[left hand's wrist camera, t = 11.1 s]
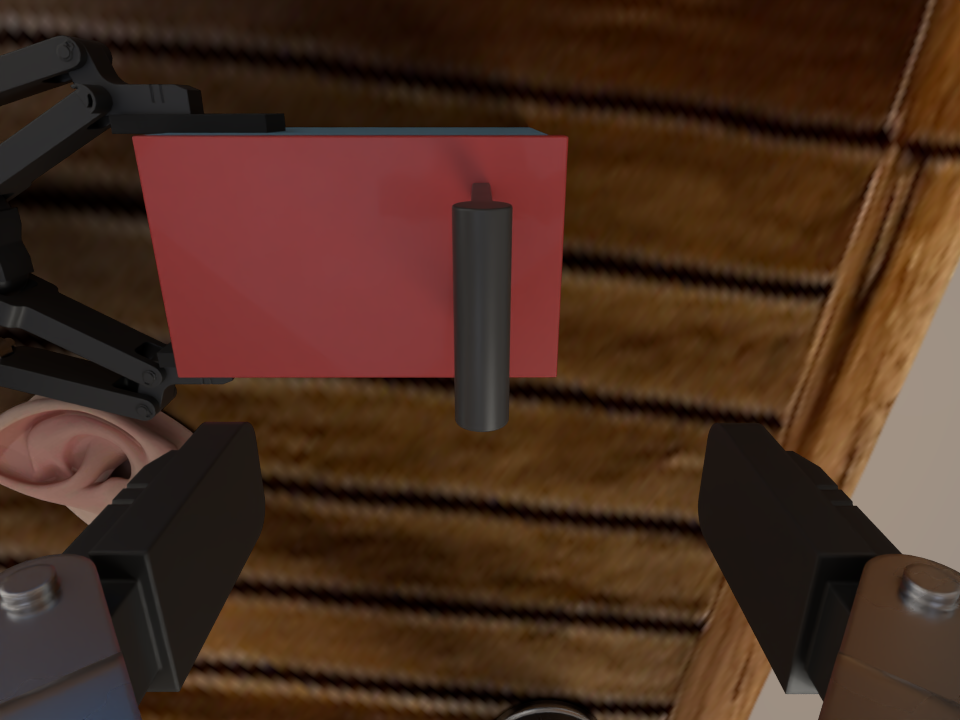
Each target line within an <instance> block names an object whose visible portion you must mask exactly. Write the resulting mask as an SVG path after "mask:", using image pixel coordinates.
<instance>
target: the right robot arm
mask: <svg viewBox="0 0 960 720" xmlns="http://www.w3.org/2000/svg"><path fill="white" fill-rule="evenodd" d="M71 82H73V83H74V84H73V85H71V87H72V88H76V89H77V90H75V91H74V92H73V93H71V94H70V95H68V96H67V97H66V98H64V99H63V100H61V101H60V102H59V103H57V104H56V105H54V106H53V107H52V108H50V109H49V110H47V111H46V112H45V113H43V114H42V115H40V116H39V117H38V118H36V119H35V120H33V121H32V122H31V123H29V124H28V125H27V126H25V127H24V128H22V129H21V130H20V131H18V132H17V133H15V134H14V135H13V136H11V137H10V138H8V139H7V140H6V141H4V142H3V143H1V144H0V325H1V326H4V327H9V328H21V329H24V330H26V331H28V332H30V333H32V334H34V335H37V336H39V337H41V338H43V339H45V340H47V341H49V342H51V343H54V344H56V345H58V346H60V347H62V348H64V349H66V350H69V351H71V352H73V353H75V354H77V355H79V356H81V357H84V358H86V359H88V360H90V361H88V360H84V359H80V358H76V357H72V356H68V355H64V354H60V353H56V352H52V351H48V350H44V349H39V348H34V347H25V346H17V347H15V342H14V341H13V340H12V339H10V338H6V339H3V338H0V386H2V387H6V388H10V389H14V390H18V391H22V392H26V393H31V394H35V395H39V396H43V397H47V398H51V399H55V400H60V401H64V402H68V403H72V404H76V405H80V406H84V407H88V408H93V409H97V410H101V411H105V412H109V413H113V414H117V415H121V416H126V417H130V418H134V419H138V420H142V421H148V420H151V419H152V418H153V417H154V416H155V415H156V414H158V413H159V412H160V411H161V410H162V409H163V408H164V407H165V406H166V405H167V404H168V403H169V402H170V401H171V400H172V399H173V398H174V397H175V396H176V394H177V390H176V387H175V384H225V383H227V382H230V381H232V380H233V379H234V378H235V377H202V378H179V377H178V374H177V369H176V364H175V358H174V353H173V348H172V343H171V342H170V343H169V344H168V345H166V344H164V343H162V342H160V341H158V340H156V339H154V338H152V337H149V336H147V335H145V334H143V333H141V332H139V331H137V330H135V329H133V328H131V327H129V326H127V325H125V324H123V323H121V322H118V321H116V320H114V319H112V318H110V317H108V316H106V315H104V314H102V313H100V312H98V311H96V310H94V309H92V308H90V307H87V306H85V305H83V304H81V303H79V302H77V301H75V300H73V299H71V298H69V297H67V296H65V295H63V294H61V293H59V292H58V288H57V287H56V286H55V285H53V284H52V283H49V282H47V281H45V280H43V279H41V278H39V277H37V276H35V275H33V274H31V272H34V269H33V265H32V262H31V258H30V255H29V253H28V251H27V250H26V248H25V246H24V244H23V242H22V240H21V220H20V217H19V213H18V209H17V207H11V206H10V205H9V203H8V201H10V200H11V199H13V198H14V197H16V196H17V195H18V194H20V193H21V192H23V191H24V190H26V189H27V188H29V187H30V186H31V185H32V184H31V182H32V181H33V180H35V179H36V178H38V177H39V176H41V175H42V174H44V173H45V172H46V171H48V170H49V169H51V168H52V167H54V166H55V165H57V164H58V163H59V162H61V161H62V160H64V159H65V158H67V157H68V156H70V155H71V154H72V153H74V152H75V151H77V150H78V149H80V148H81V147H82V146H84V145H85V144H87V143H88V142H90V141H91V140H93V139H94V138H95V137H97V136H98V135H100V134H101V133H103V132H104V131H106V130H107V129H108V128H110V127H111V129H112V134H162V133H271V132H279V131H286V128H285V119H284V114H204V110H203V104H202V97H201V91H200V90H198V89H196V88H193V87H191V86H187V85H129V84H127V83H125V82H124V81H122V80H121V79H120V78H119V77H118V75H117V74H116V72H115V70H114V68H113V66H112V55H111V52H110V50H109V49H108V47H107V46H105V45H104V44H103V43H101V42H98V41H92V40H86V39H81V38H75V37H69V36H56V37H54V38H51V39H48V40H45V41H42V42H39V43H36V44H33V45H30V46H27V47H25V48H22V49H19V50H16V51H13V52H10V53H7V54H4V55H1V56H0V106H2V105H5V104H8V103H11V102H14V101H17V100H20V99H23V98H26V97H29V96H32V95H35V94H38V93H41V92H44V91H47V90H50V89H53V88H56V87H59V86H62V85H65V84H68V83H71Z"/></svg>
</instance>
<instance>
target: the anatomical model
mask: <svg viewBox="0 0 960 720" xmlns="http://www.w3.org/2000/svg"><path fill="white" fill-rule="evenodd" d="M192 434H193V433H192V432H191V431H190V430H188V429H187V428H185V427H184V426H183V425H181V424H180V423H178V422H177V421H175V420H174V419H172V418H171V417H169V416H168V415H166V414H164V413H163V412H161V411H160V412H159V413H158V414H156V415H155V416H154V417H153V418H152V419H151V420H148V421H142V420H138V419H134V418H130V417H126V416H121V415H117V414H113V413H109V412H105V411H101V410H97V409H93V408H88V407H84V406H80V405H76V404H72V403H68V402H64V401H60V400H55V399H51V398H47V397H43V396H39V395H35V396H34V397H32V398H31V399H30V400H29V401H28V402H24V403H22V404H19V405H17V406H14V407H13V408H11V409H9V410H7V411H5V412H4V413H2V414H1V415H0V484H2V485H4V486H6V487H8V488H11V489H13V490H15V491H18V492H20V493H23V494H26V495H29V496H32V497H35V498H38V499H41V500H44V501H49V502H53V503H57V504H61V505H66V506H67V507H68V508H69V509H70V510H71V511H72V512H74V513H75V514H76V515H77V516H78V517H79V518H81V519H82V520H83V521H84V522H86V523H87V524H88V525H89V524H90V523H91V522H92V521H93V520H94V519H95V518H96V517H97V516H98V515H99V514H100V513H101V512H102V510H103V509H104V508H105V507H106V506H107V505H108V504H112V500H113V499H114V498H115V497H116V496H117V494H118V493H119V492H120V491H121V490H122V489H123V488H127V484H128V483H129V482H130V481H131V480H132V478H133V477H134V476H135V475H136V474H137V473H138V472H139V471H140V470H141V469H142V468H143V467H144V466H145V465H147V464H148V463H150V462H152V461H153V460H155V459H157V458H159V457H160V456H162V455H164V454H165V453H167V452H169V451H170V450H179V449H180V448H181V447H182V446H183V444H184V443H185V442H186V441H187V440H188V439H189V438H190V437H191V435H192Z"/></svg>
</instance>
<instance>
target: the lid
mask: <svg viewBox="0 0 960 720" xmlns="http://www.w3.org/2000/svg"><path fill="white" fill-rule="evenodd" d="M132 140H133V145H134V150H135V155H136V161H137V166H138V171H139V176H140V181H141V187H142V192H143V197H144V202H145V207H146V213H147V218H148V223H149V228H150V233H151V239H152V244H153V249H154V254H155V260H156V265H157V270H158V275H159V280H160V286H161V291H162V296H163V301H164V306H165V312H166V317H167V322H168V327H169V332H170V338H171V343H172V348H173V353H174V358H175V364H176V369H177V374H178V377H179V378H202V377H455V420H456V422H457V424H458V425H459V426H460V427H462V428H464V429H467V430H470V431H477V432H487V431H494V430H497V429H500V428H502V427H504V426H505V425H506V424H507V422H508V420H509V377H556V376H557V359H558V338H559V318H560V297H561V277H562V256H563V236H564V215H565V194H566V174H567V153H568V136H565V135H138V136H133V137H132Z"/></svg>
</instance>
